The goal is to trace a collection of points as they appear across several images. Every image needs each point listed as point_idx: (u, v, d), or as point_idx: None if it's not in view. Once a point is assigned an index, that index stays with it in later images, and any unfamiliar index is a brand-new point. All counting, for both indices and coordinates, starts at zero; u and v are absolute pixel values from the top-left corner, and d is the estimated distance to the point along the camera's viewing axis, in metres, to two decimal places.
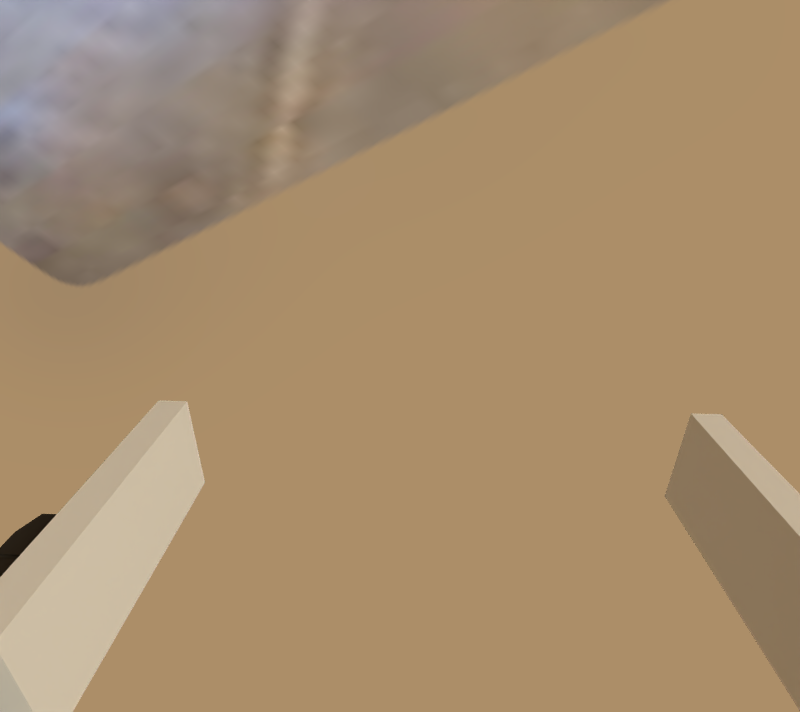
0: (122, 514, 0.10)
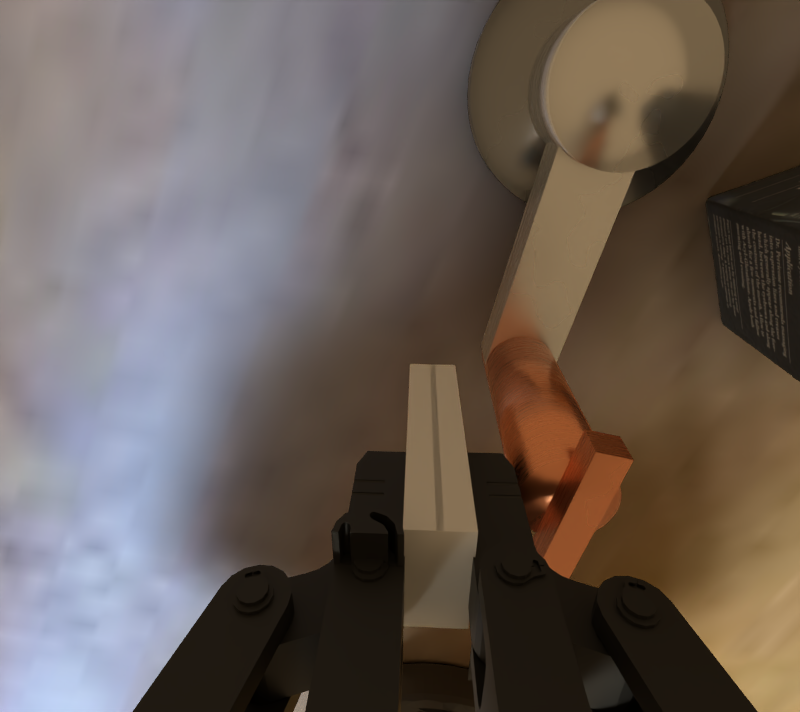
0: None
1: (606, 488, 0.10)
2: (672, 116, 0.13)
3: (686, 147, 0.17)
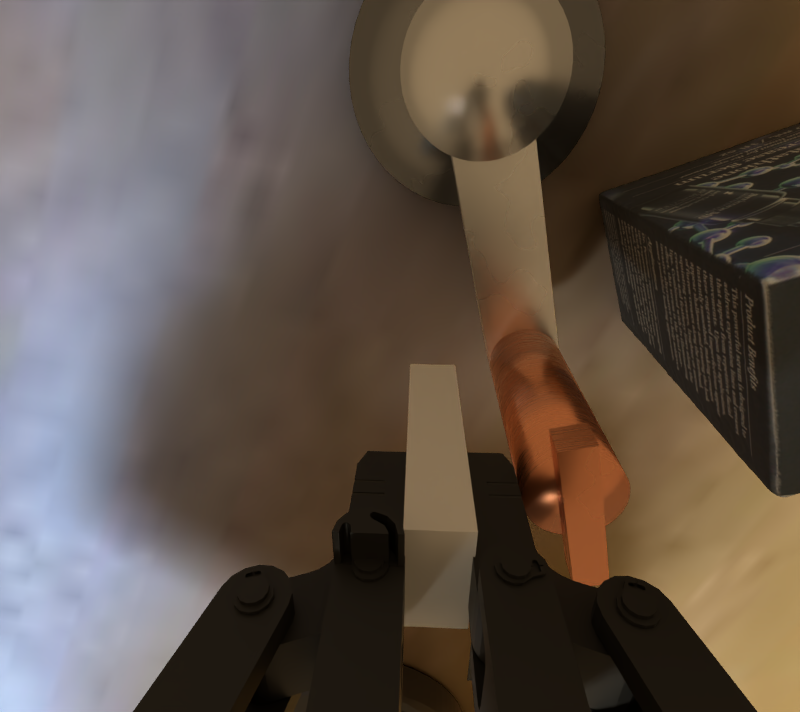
0: None
1: (590, 480, 0.10)
2: (538, 78, 0.13)
3: (569, 140, 0.16)
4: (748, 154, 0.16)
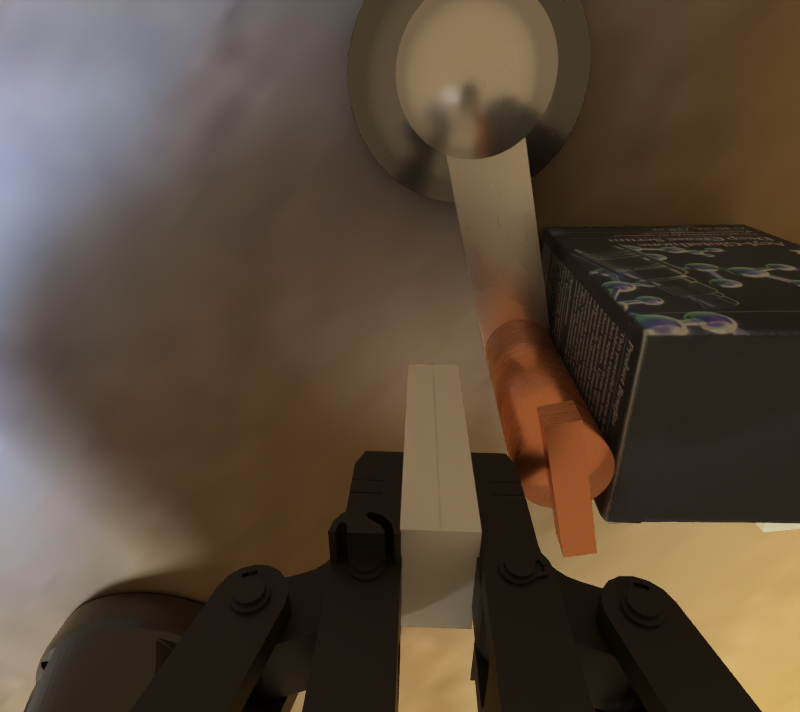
0: None
1: (575, 453, 0.11)
2: (525, 80, 0.14)
3: (531, 168, 0.18)
4: (672, 235, 0.18)
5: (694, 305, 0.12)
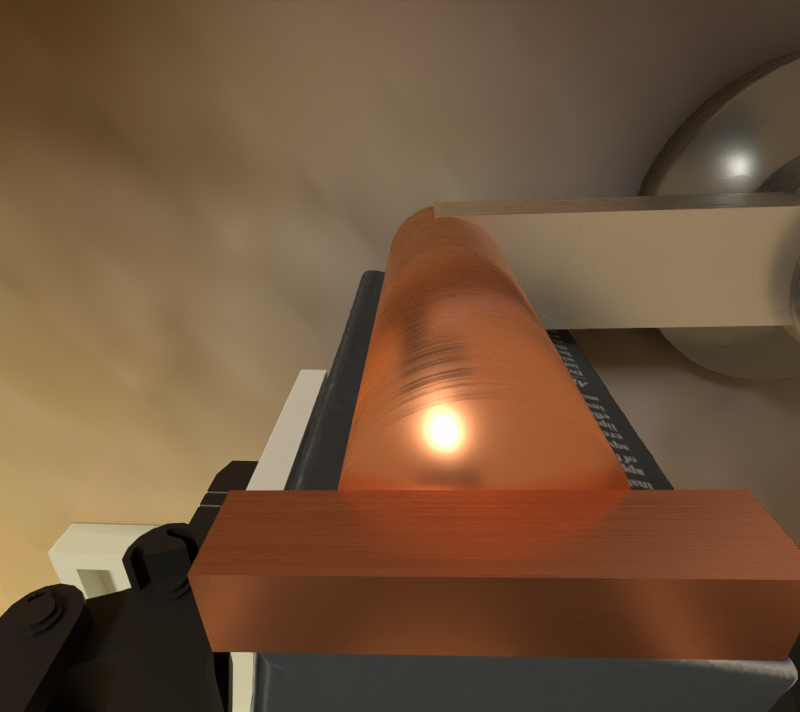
0: None
1: (666, 637, 0.03)
2: None
3: None
4: None
5: None
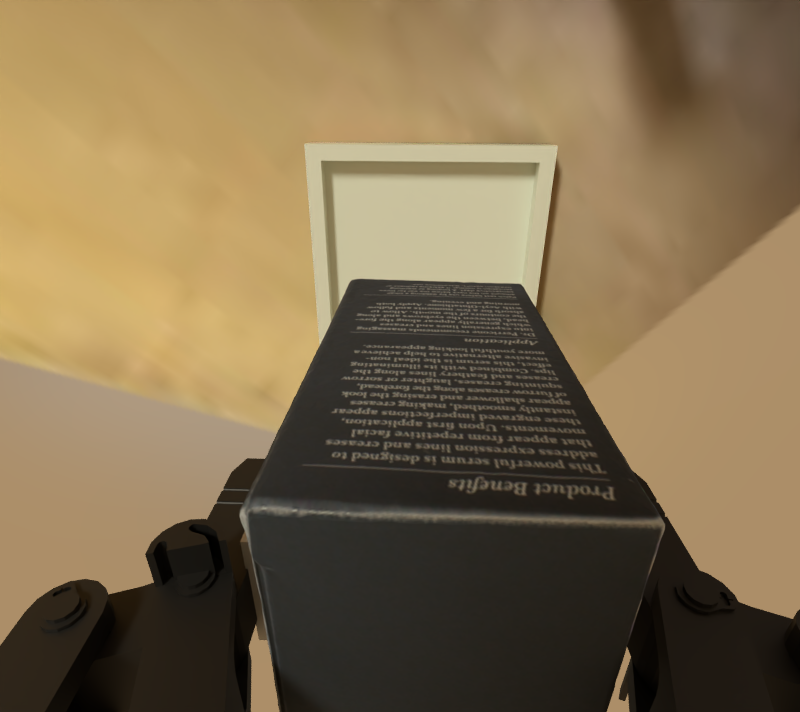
0: None
1: None
2: None
3: None
4: None
5: None
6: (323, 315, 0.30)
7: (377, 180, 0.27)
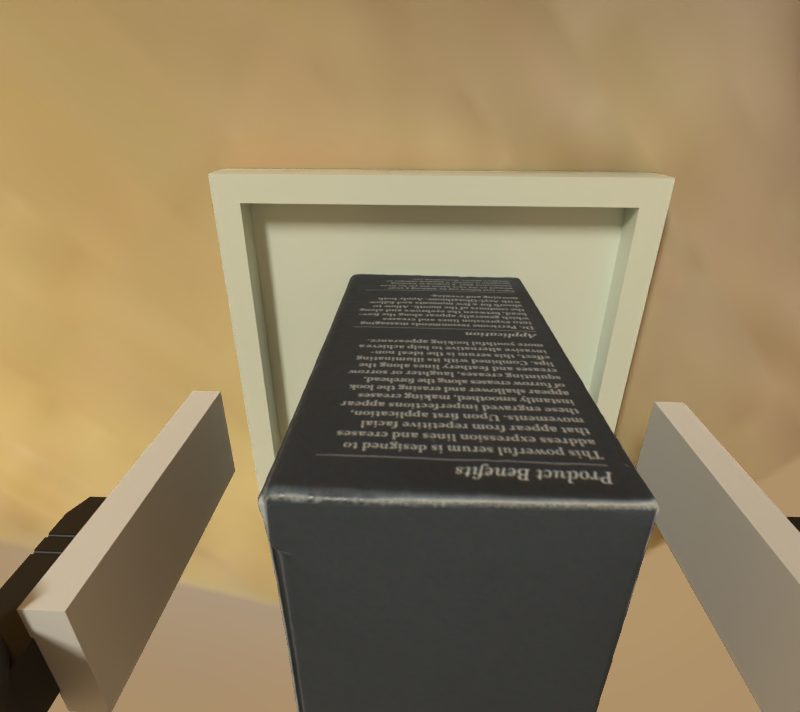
0: (167, 497, 0.11)
1: None
2: None
3: None
4: None
5: None
6: (261, 447, 0.18)
7: (344, 234, 0.15)
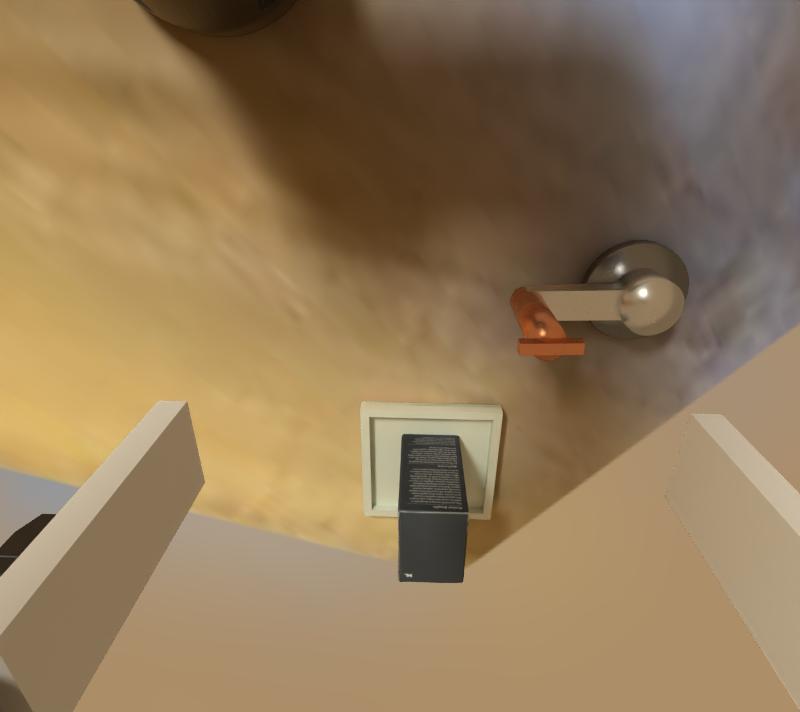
0: (122, 514, 0.10)
1: (570, 351, 0.31)
2: (643, 324, 0.37)
3: None
4: None
5: None
6: (366, 490, 0.50)
7: (400, 421, 0.47)
